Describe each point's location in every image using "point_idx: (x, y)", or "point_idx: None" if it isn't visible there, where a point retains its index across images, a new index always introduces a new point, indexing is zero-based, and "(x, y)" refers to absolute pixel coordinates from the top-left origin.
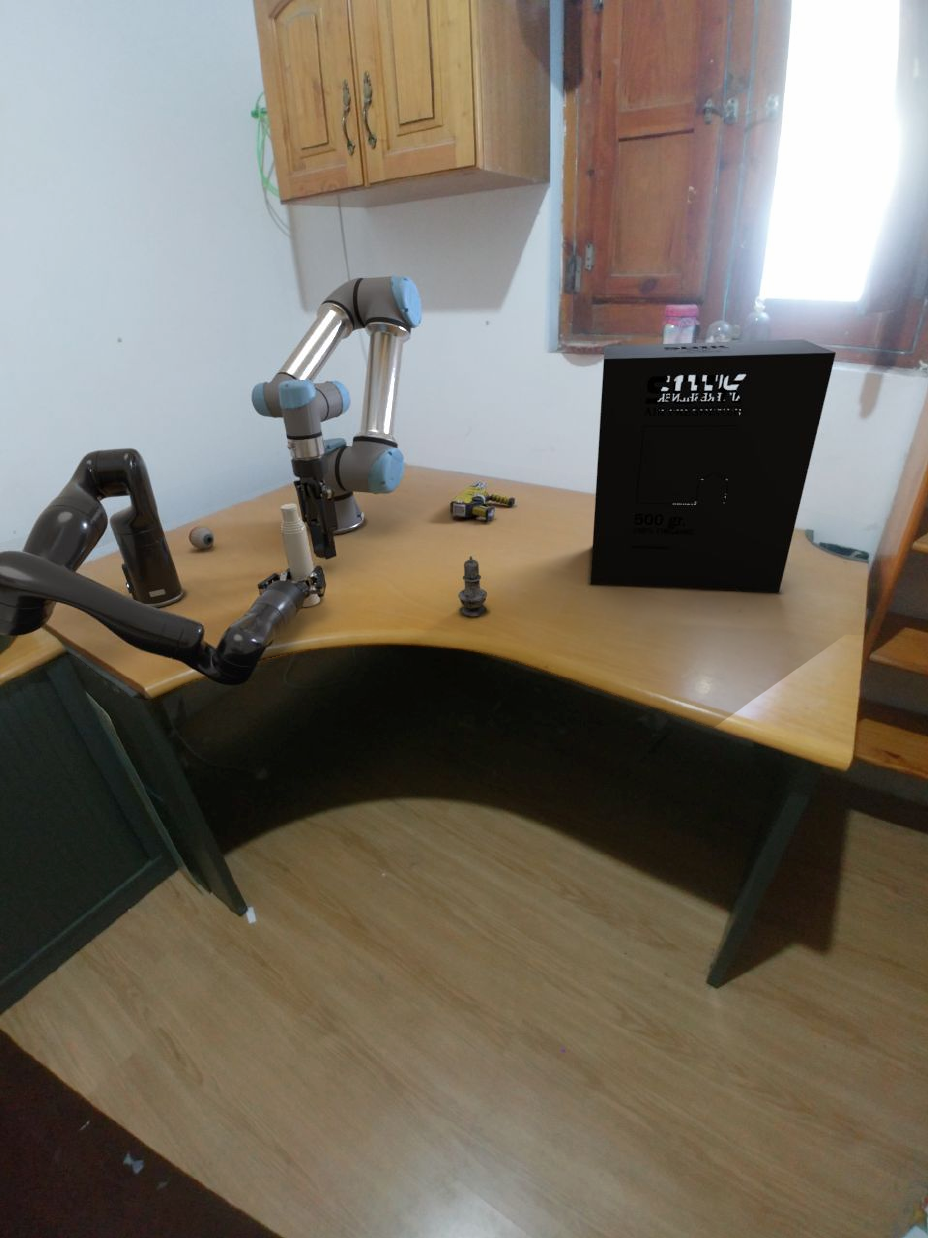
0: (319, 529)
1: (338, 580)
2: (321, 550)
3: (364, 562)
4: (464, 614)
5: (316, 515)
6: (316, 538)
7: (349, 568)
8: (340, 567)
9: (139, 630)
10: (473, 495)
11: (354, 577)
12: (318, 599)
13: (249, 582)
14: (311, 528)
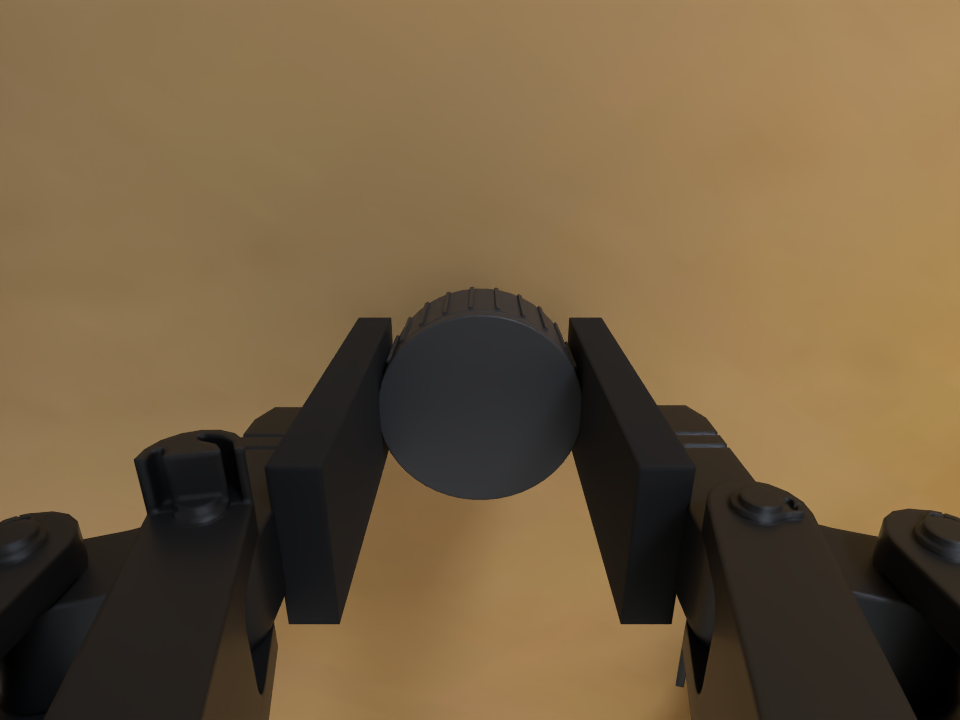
0: (340, 469)
1: (725, 384)
2: (546, 472)
3: (646, 24)
4: None
5: (232, 662)
6: (370, 469)
7: (630, 206)
8: (549, 246)
9: None
10: None
11: (797, 279)
12: None
13: (289, 710)
14: (340, 617)
